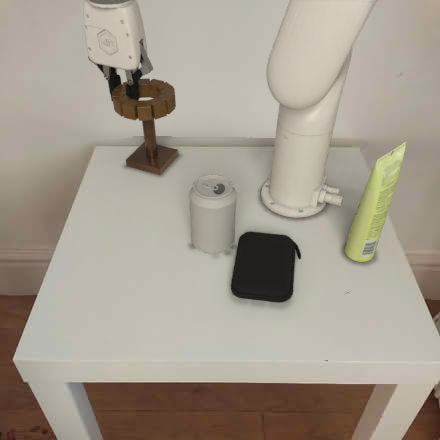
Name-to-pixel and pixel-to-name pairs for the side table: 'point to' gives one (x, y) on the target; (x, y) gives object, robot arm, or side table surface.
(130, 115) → the ring
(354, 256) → the tube
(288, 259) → the carrying case
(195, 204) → the can
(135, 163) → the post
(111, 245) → the side table surface
